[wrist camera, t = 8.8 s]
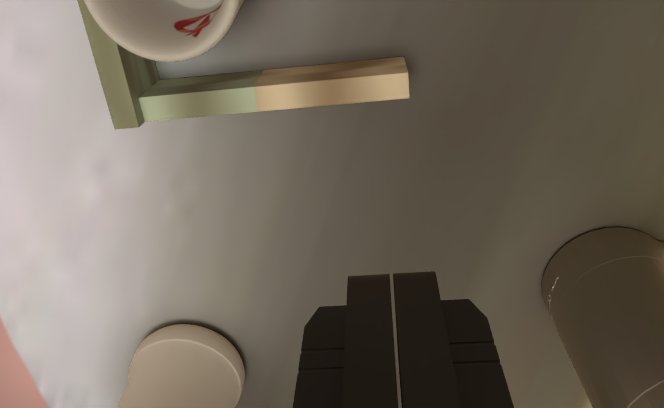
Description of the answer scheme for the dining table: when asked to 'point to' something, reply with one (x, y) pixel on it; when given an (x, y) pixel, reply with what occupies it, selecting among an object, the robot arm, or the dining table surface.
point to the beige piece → (232, 85)
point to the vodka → (184, 370)
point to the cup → (165, 25)
